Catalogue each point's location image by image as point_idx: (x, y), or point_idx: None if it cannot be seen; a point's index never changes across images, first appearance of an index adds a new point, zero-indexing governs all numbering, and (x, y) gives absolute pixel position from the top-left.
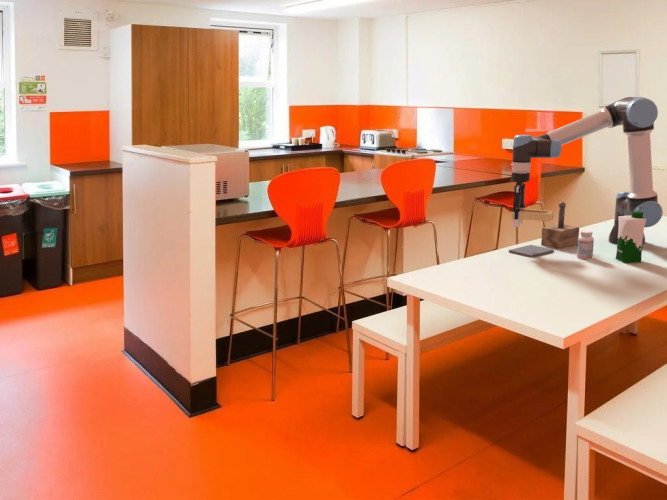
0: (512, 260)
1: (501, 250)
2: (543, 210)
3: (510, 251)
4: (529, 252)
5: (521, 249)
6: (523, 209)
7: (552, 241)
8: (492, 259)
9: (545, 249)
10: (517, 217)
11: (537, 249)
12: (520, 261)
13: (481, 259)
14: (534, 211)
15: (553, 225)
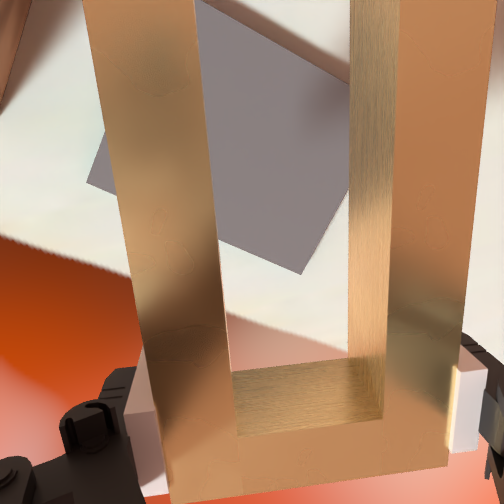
0: (477, 201)
1: (268, 316)
2: (115, 22)
3: (305, 260)
4: (319, 140)
5: (256, 208)
6: (202, 388)
7: (1, 10)
8: (480, 300)
9: None
10: (477, 344)
11: (212, 105)
12: (490, 153)
13: (492, 346)
14: (212, 197)
15: None
